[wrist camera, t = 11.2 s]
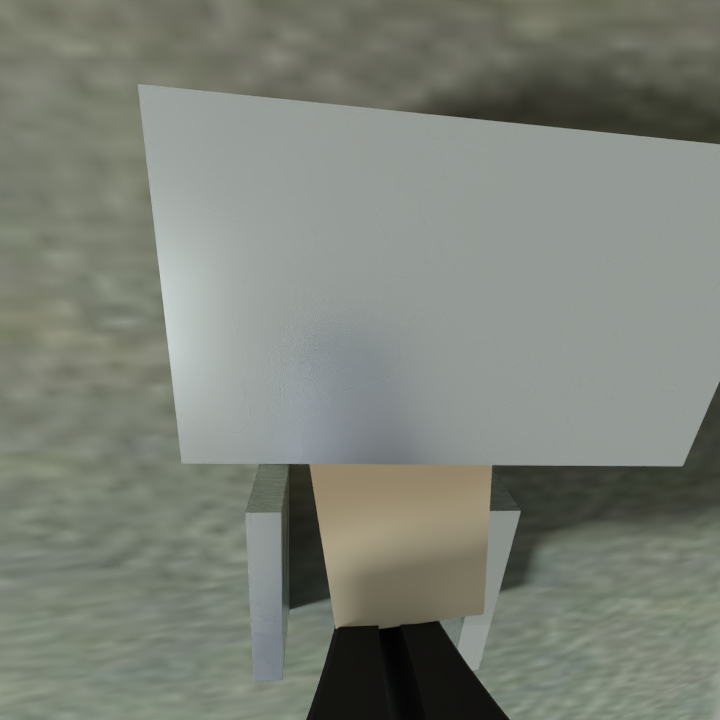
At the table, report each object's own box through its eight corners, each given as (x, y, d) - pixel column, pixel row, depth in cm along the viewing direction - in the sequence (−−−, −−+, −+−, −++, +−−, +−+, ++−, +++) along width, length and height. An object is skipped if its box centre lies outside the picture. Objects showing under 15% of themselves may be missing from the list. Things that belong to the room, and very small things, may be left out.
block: (512, 349, 10) (683, 466, 5) (256, 340, 9) (181, 463, 4) (547, 192, 8) (818, 153, 4) (251, 167, 8) (136, 83, 3)
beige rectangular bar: (437, 497, 11) (483, 614, 8) (333, 510, 11) (336, 634, 8) (435, 220, 8) (505, 221, 5) (295, 233, 8) (273, 242, 5)
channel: (456, 605, 13) (478, 670, 11) (264, 611, 12) (253, 681, 10) (487, 461, 11) (520, 511, 9) (260, 460, 10) (245, 512, 8)
